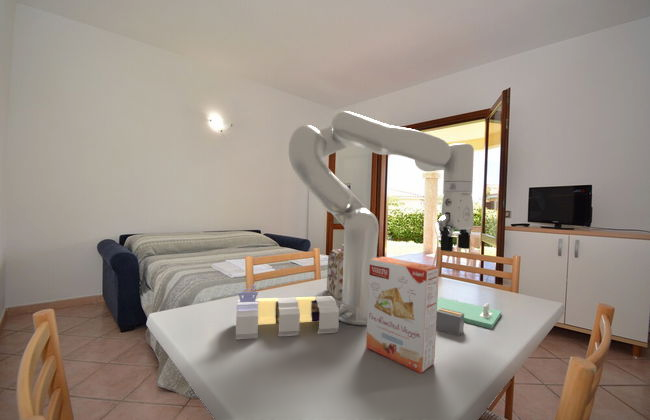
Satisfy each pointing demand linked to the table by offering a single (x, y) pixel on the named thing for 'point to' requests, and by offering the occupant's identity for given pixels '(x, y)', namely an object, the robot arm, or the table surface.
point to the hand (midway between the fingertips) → (455, 249)
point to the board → (472, 312)
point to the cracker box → (403, 311)
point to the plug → (450, 321)
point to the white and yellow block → (284, 314)
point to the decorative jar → (335, 272)
